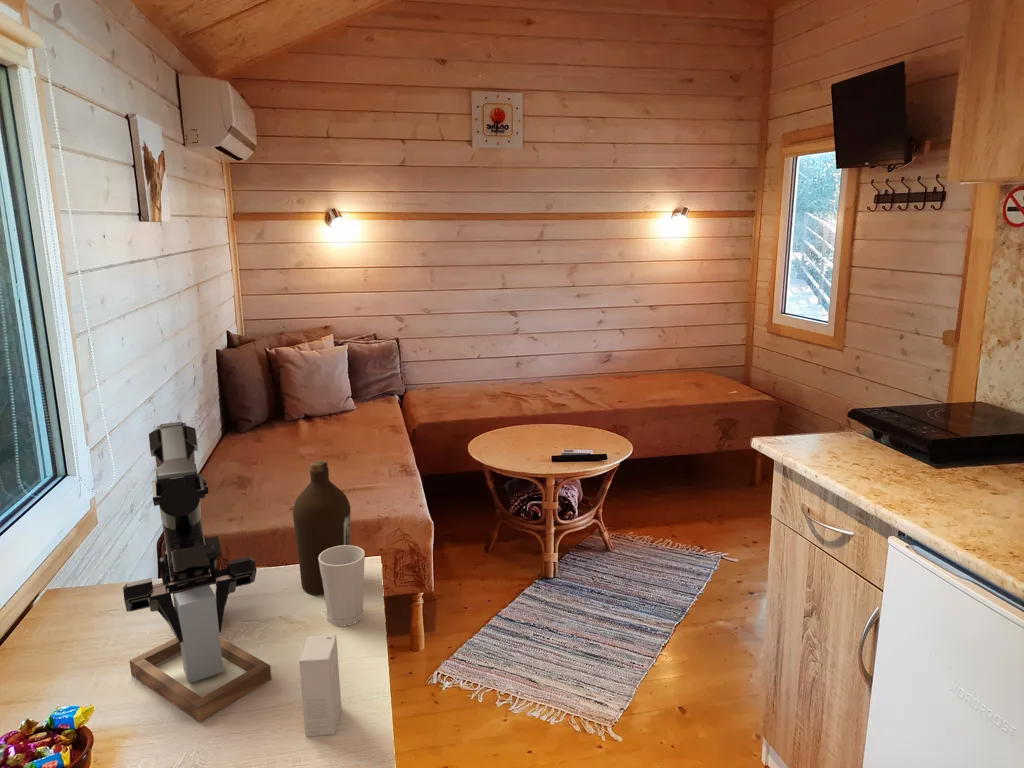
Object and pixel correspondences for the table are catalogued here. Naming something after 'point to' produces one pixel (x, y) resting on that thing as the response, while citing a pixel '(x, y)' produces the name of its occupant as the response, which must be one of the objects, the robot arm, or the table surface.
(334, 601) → the cup
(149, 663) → the wooden frame
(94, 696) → the table surface
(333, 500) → the olive oil
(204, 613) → the tall grey pillar block
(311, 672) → the skincare box
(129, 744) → the table surface
